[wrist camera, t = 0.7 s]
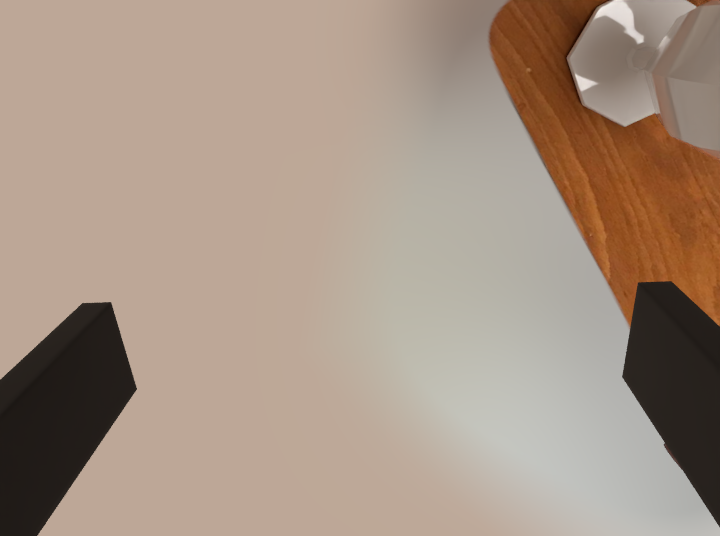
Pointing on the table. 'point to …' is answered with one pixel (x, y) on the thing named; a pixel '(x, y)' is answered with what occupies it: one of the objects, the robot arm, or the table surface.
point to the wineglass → (654, 67)
